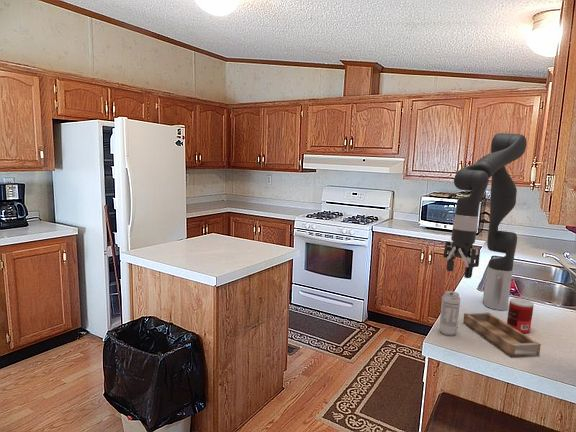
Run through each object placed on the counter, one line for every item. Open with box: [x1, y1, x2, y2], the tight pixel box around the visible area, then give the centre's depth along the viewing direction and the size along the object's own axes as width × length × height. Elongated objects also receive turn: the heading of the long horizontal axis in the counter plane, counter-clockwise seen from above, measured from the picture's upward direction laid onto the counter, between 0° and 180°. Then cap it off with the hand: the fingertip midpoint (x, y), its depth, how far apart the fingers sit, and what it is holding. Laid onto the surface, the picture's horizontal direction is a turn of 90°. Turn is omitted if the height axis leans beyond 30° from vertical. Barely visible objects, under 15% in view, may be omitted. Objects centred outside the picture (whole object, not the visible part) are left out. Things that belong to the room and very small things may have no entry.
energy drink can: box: [438, 290, 461, 336], centre depth 144 cm, size 6×6×15 cm
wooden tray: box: [462, 312, 542, 358], centre depth 142 cm, size 26×10×4 cm, turn 10°
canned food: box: [506, 297, 535, 335], centre depth 149 cm, size 8×8×11 cm
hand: (458, 274), depth 138 cm, fingers open, 8 cm apart
